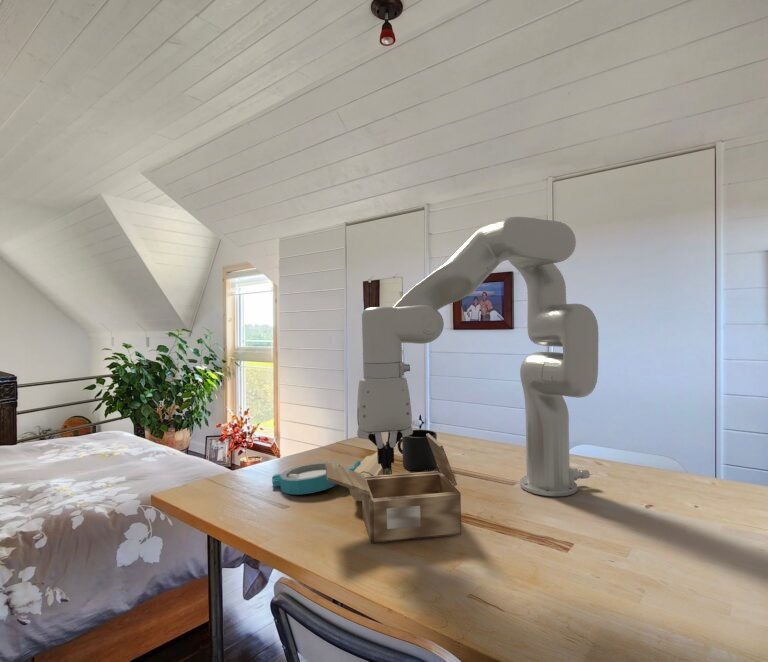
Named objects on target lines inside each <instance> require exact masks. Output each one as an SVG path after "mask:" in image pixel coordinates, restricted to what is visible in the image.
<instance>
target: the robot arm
mask: <svg viewBox="0 0 768 662" xmlns="http://www.w3.org/2000/svg"><path fill="white" fill-rule="evenodd" d="M576 245H577V239H576V235H575V233H574V231H573V230H572V228H571V227H570V226H569V225H567V224H566V223H564V222H562V221H557V220H550V219H542V218H535V217H528V216H527V217H526V216H511V217H506V218H503V219H500V220H496V221H493V222H490V223H487V224H484V225H482V226H481V227H480V228H478V229H477V230H476V231H475V232H474V233H473V234H472V235H471V236H470V237H469V238H468V239H467V240H466V241H465V242H464V243H463V245H461V246H460V247H459V248H458V249H457V250H456V252H455V253H454V254H453V255H452V256H451V257H449V259H448V260H447V261H446V262H445V263H443V265H441V266H440V267H438V268H437V269H435V270H434V271H433V272H431V273H430V274H429V275H428V276H426V277H424V278H423V279H422V280H421V281H420V282H417V284H415V285H414V286H413V287H412V288H410V289H409V290H408V291H407V292H406V293H405V294H404V295H402V297H401V298H400V299H398V301H397V302H396V303H395V304H394V305H393V306H374V307H373V306H372V307H367V308H365V309H364V310H363V311H362V314H361V331H362V332H361V333H362V334H361V335H362V361H363V362H362V364H363V365H362V367H363V370H362V371H363V372H362V373H363V377H362V378H360V379H359V382H358V389H357V402H356V405H357V406H356V407H357V411H356V419H357V420H356V421H357V425H358V427H357V431H356V436H357V438H358V439H362V440H369V441H370V442H371V443H373V444H374V445H375V447H376V452H377V456H378V464H381V466H382V468H383V469H386V468H388V469H391V468H392V464H394V463H395V447H396V445H398V442H399V440H400V439H402V437H405V436H409V435H411V434H413V430H414V429H413V427H412V425H413V422H412V421H413V419H412V418H413V415H412V405H411V398H410V397H411V396H410V390H409V385H408V379H407V378H406V376H405V375H404V374H405V373H406V372H410V371H411V364H407V363H404V362H403V343H404V344H420V345H421V344H428V343H431V342H433V341H435V340H437V339H438V338H439V337H440V336H441V335H442V333H443V330H444V326H445V323H444V318H443V316H442V314H441V313H440V311H439V310H440V309H442V308H443V307H445V306H447V305H451V304H453V303H455V302H458V301H461V300H463V299H465V298H466V297H468V296H470V295H472V294H473V293H474V292H475V291H477V289H479V287H480V286H481V285H482V284H483V283H484V281H485V280H486V279H487V278H488V277H489V276H490V275H491V274H492V273H493V271H494V270H496V268H497V267H498V266H499V265H501V263H503V262H504V261H508V262H509V263H510V264H511V265H512V266H513V267H514V268H515V269H516V270H517V271H518V272H519V273H520V275H521V276H522V278H523V279H524V281H525V285H526V288H527V289H526V290H527V317H526V318H527V320H526V321H527V325H526V326H527V334H528V338H529V340H530V341H531V342H532V343H534V345H538V346H543V347H557V348H558V347H559V348H560V347H562V352H558V351H557V352H553V351H538V352H534V353H531V354H529V355H527V356H526V357H525V358H524V359H523V361H522V362H521V365H520V368H519V369H520V371H519V375H520V382H521V387H522V391H523V397H524V405H525V412H524V413H525V453H526V455H525V456H526V457H525V458H526V459H525V460H526V461H525V462H526V475H525V476H523V477H521V478H520V481H519V486H520V487H521V488H522V489H523V490H525V491H526V492H529V493H530V494H535V495H538V496H539V495H540V496H543V497H544V496H545V497H565V496H571V495H573V494H575V493H576V492H577V491H578V483H576V481H578V479H580V480H581V479H583V480H585V479H589V478H590V471H589V470H588V469H581V470H578V468H577V467H575V468H572V467H570V465H571V464H570V426H569V425H570V418H569V417H570V415H569V408H568V406H567V405H568V404H567V403H566V400H565V398H564V397H568V398H569V397H570V398H575V399H576V398H578V399H579V398H585V397H588V396H589V395H590V394H592V392H593V391H594V390H595V388H596V385H597V383H598V376H599V325H598V320H597V318H596V315H595V313H594V312H593V310H592V309H591V308H589V306H587V305H584V304H582V303H567V289H566V288H567V287H566V282H565V278H564V276H563V274H562V272H561V270H559V268H558V267H557V266H556V265H555V264H557V263H562V262H565V261H566V260H568V259H569V258H570V257H571V256H572V255H573V254H574V252H575V249H576V247H577V246H576ZM382 433H387V439H386V440H387V441H386V442H385V443H384V440H383V435H382Z"/></svg>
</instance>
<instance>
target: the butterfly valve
mask: <svg viewBox="0 0 768 662" xmlns="http://www.w3.org/2000/svg"><path fill="white" fill-rule="evenodd" d="M326 462H327V461H319V462H312V463H307V464H306V463H305V464H302V465H298V466H294V467H292V468H290V469H287V470H285V471H283V472H282V473H276V474H273V476H272V477H271V479H272V487H274V488H275V487H280V491H281V490H282V491H283V492H282V491H281V492H282V493H285V494H287V495H298V496H299V495H300V496H301V495H307V494H314V493H316V492H322V491H325V490H329V489H330V488H333V487H335V486H337V485H338V484H335V483H332V482H329V481H327V476H326V468H325V463H326ZM328 462H329V463H332V464H335V465H338V466H341V465H340V463H339V462H335V461H328ZM345 468H346V469H349V470H352V471H355V472H358V473H361V474H364V477H365V476H379V475H392V474H393V469H392V467H391V469H388V468H386V469H383V468H382V466H381V464H378V456H377V451H375V453H373V454H371V455H365V457H364V458H363V459H362V460H361V461H360V460H356V461H355V462H354V465H353V466H347V467H345ZM348 489H349V492H350V493H349V494H350V496H351V497H352V498H353V500H355V501H356V502H362V492H359V491H356V490H353V489H350V488H348Z"/></svg>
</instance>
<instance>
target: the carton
mask: <svg viewBox="0 0 768 662" xmlns="http://www.w3.org/2000/svg"><path fill="white" fill-rule="evenodd" d="M365 480H366V482H367V485H368V488H369V490H370V493H369V495H368V494H365V493H362V501H361V502H362V503H361V504H362V505H361V506H362V518H363V522H364V525H365V529H366V532H367V535H368V540H369V543H370V544H377V543H385V542H396V541H406V540H417V539H427V537H428V539H429V538H436V536H439V537H446V536H447V535H449V536H457V535H458V534H459V535H462V503H461V500H462V499H461V492H460V490H458V488H456V486H454V485H453V484H452V483H451V482H450V481H449V480H448V479H447V477H446V476H445V475H444V474H443V473H442V472H439V471H438V470H434V471H433V470H432V471H418V472H410V473H409V472H407V473H394V474H393V473H392V475H379V476H365ZM447 537H448V536H447Z"/></svg>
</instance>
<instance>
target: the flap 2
mask: <svg viewBox="0 0 768 662" xmlns="http://www.w3.org/2000/svg"><path fill="white" fill-rule="evenodd" d="M426 436H427V439H428V441H429V444H430V447H431V449H432V452H433V454H434V457H435V460H436V462H437V467H438V470H439V471H440V473H442V474H443V475H444V476H445V477H446V478H447V479H448V480H449V481H450V482H451V483H452V484H453V485H454V487H456V486H458V483H457V480H456V478H455V475H454V472H453V469H452V467H451V465H450V461H449V459H448V456H447V455H446V451H445V448H444V446H443V444H441V443H440V442H439V441H438V440H436V439H435V438H433V437H432V436H431V435H430V434H429V433H428V434H426Z"/></svg>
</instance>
